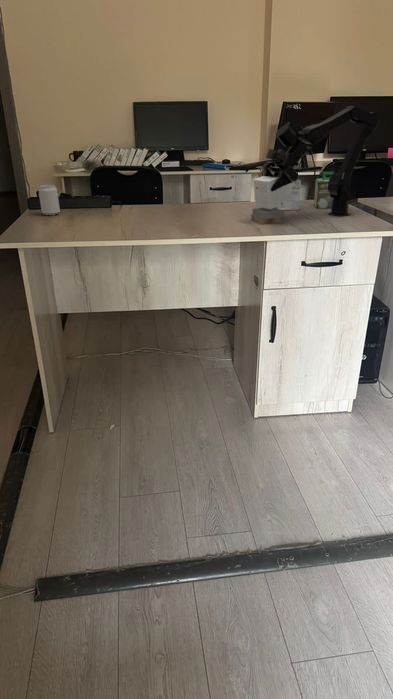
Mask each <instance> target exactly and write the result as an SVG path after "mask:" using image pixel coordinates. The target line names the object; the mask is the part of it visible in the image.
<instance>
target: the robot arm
mask: <svg viewBox="0 0 393 699" xmlns="http://www.w3.org/2000/svg"><path fill="white" fill-rule="evenodd" d="M349 121H351V123H354V136H353V137H352V140H351V142H350V145H349V147H348V149H347V152H346V154H345V156H344V158H343V161H342V163H341V166H340V168H339V170H338V171H337V172H336V173H334V174H332V175H330V176H329V177H330V180H329V182H328V183H327V184H328V187H327V189H328V192H329V193H330V197H331V198H334V199H333V203H332V208H331V211H330V212H328V215H332V216H336V217H343V216H351V215H352V214H351V212H349V205H350V204H349V203H350V201H353V198H354V196H355V194H354V193H353V191H352V190H351V189H350V186H351V183H352V182H351V181H352V180H351V179H352V178H351V177H352V172H353V170H354V168H355V166H356V165H357V162H358V159H359V157H360V154H362V153H361V152H362V150H363V148H364V146H365V144H366V141H367V139H368V138H369V137H370V136H371V135H372V134H373V133H374V132H375V130H376V129H377V127H378V125H379V123H380V118H379V115H378V114H377V112H374V111H373V112H369V111H367V110H364V109H361V108H359V107H357V106H354V105H353V106H351V105H350V106H346V107H345V108H344V109H343V110H340V111H339V112H337V113H336V114H334V115H332V116H330V117H328V118H327V119H325V120H323V121H321V122H319V123H315V124H311V125H309V126H305V127H303V128H302V129H301V130H300V131H298V129H296V128H295V126H294V124H293V123H292V122H290V121H288V122H286V124H284V125H282V126H281V127H280V128H278V130H277V131H276V133H275V136H276V138H277V139H278V140H279V141H280V143H281V144H282V145H283V147H285V148H288V150H287V151H286V150H284V149H280V148H279V149H278V150H276V149H271V148H268V152H267V154H266V156H265V158H266V159H269V160H271V161H265V162H264V164H263V165H262V167H263V168H262V169H263V170H264V174H263V176H268V177H277V178H278V179H277V180H276V182H275V183H274V184H273V186H272V188H271V191H275V190H277V189H279V188H281V187H283V186H285V185H287V184H290V183H292V181H293V182H295V181H296V180H297V179H299V172H297V171H296V169H295V167H298V166H299V165H300V164H299V161H300V160H301V159H302V158H303V157H304V156H305V155H308V156H312V154H313V153H312V147H311V146H308V144H309V145H317V144H318V143H319V142H321V141H322V140H323V139H325V136H326V135H327V134H329V133H330V132H331V131H334V130H335V129H337V128H338V127H340V126H342V125H343V124H345V123H347V122H349ZM285 151H286V152H285Z"/></svg>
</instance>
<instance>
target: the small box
mask: <svg viewBox="0 0 393 699" xmlns="http://www.w3.org/2000/svg"><path fill="white" fill-rule="evenodd" d="M277 179H278V176H277V177H268V176H264V175H262V176H259V177H257V178H255V179H253V191H254V192H253V193H254V202H255V208H266V209H272V208H274V207H275V208H276V207H277V206H279V205H280V195H279V189H277V190H275V191H271V188H272V186H273V184H274V183H275V182H276V180H277Z"/></svg>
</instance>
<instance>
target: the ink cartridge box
mask: <svg viewBox="0 0 393 699" xmlns="http://www.w3.org/2000/svg"><path fill="white" fill-rule="evenodd" d="M301 186H302V180H301V179H299V178H298V179H297V180H296V181H295V182H293V181H292V183H290V184H287V185H285V186H283V187H281V188H279V195H280V205H279V206H277V207H275V208H278V209H281V210H284V211H299V210H300V201H301V188H302V187H301Z"/></svg>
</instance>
